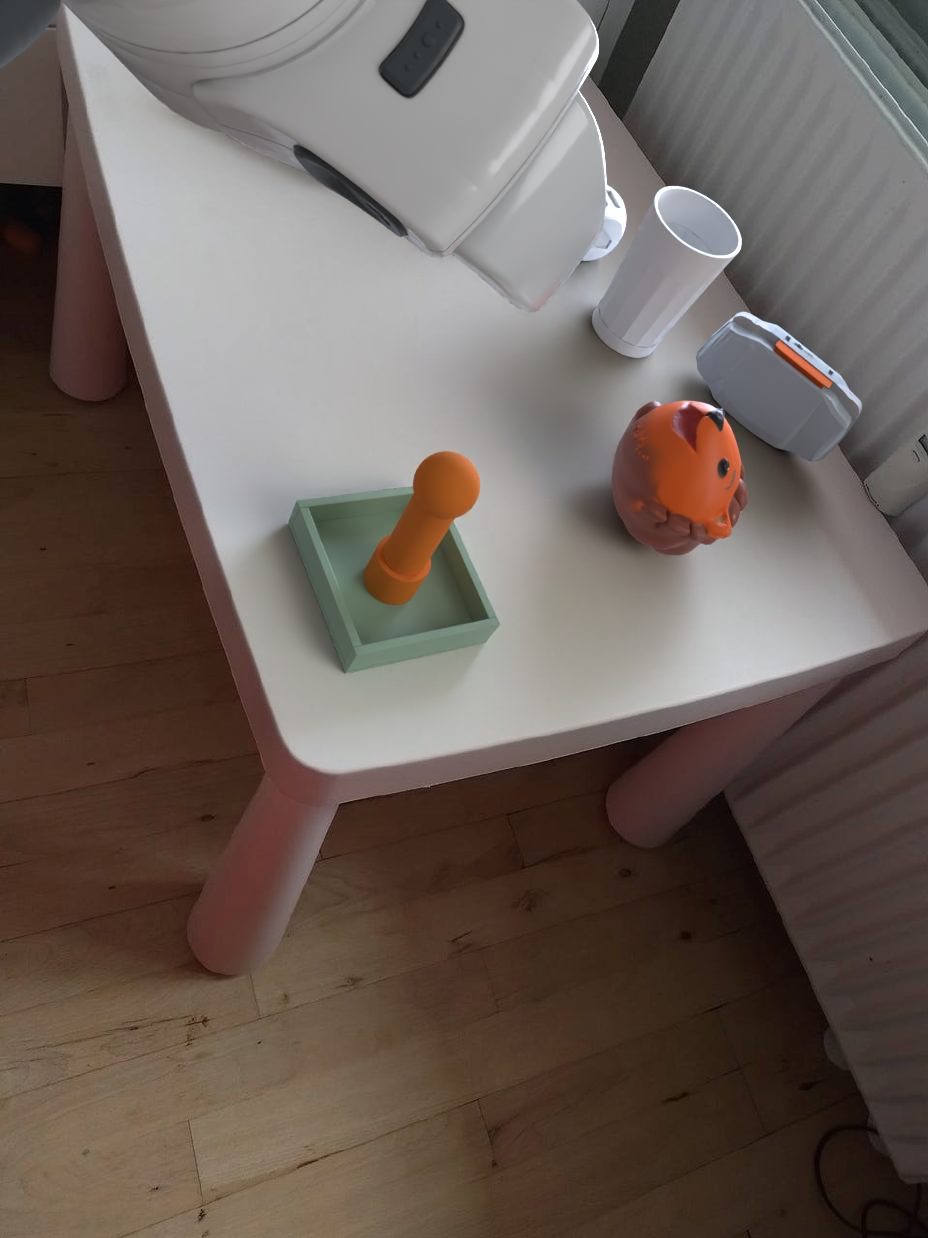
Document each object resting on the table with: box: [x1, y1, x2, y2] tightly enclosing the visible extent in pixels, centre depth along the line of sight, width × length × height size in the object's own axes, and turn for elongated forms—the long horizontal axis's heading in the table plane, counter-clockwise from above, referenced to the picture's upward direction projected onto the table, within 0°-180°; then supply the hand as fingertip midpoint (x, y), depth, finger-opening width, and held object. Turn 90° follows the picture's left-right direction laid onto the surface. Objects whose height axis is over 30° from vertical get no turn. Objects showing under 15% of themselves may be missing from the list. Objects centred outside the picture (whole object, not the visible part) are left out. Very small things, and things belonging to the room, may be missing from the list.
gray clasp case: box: [695, 311, 863, 463], centre depth 84 cm, size 14×3×8 cm, turn 56°
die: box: [581, 184, 627, 262], centre depth 88 cm, size 5×5×5 cm
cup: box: [591, 185, 742, 359], centre depth 82 cm, size 8×8×12 cm
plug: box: [363, 450, 481, 605], centre depth 58 cm, size 4×4×12 cm
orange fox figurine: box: [611, 400, 749, 557], centre depth 71 cm, size 12×10×11 cm
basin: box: [287, 485, 501, 674], centre depth 63 cm, size 11×10×2 cm
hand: (366, 147), depth 37 cm, fingers open, 8 cm apart
